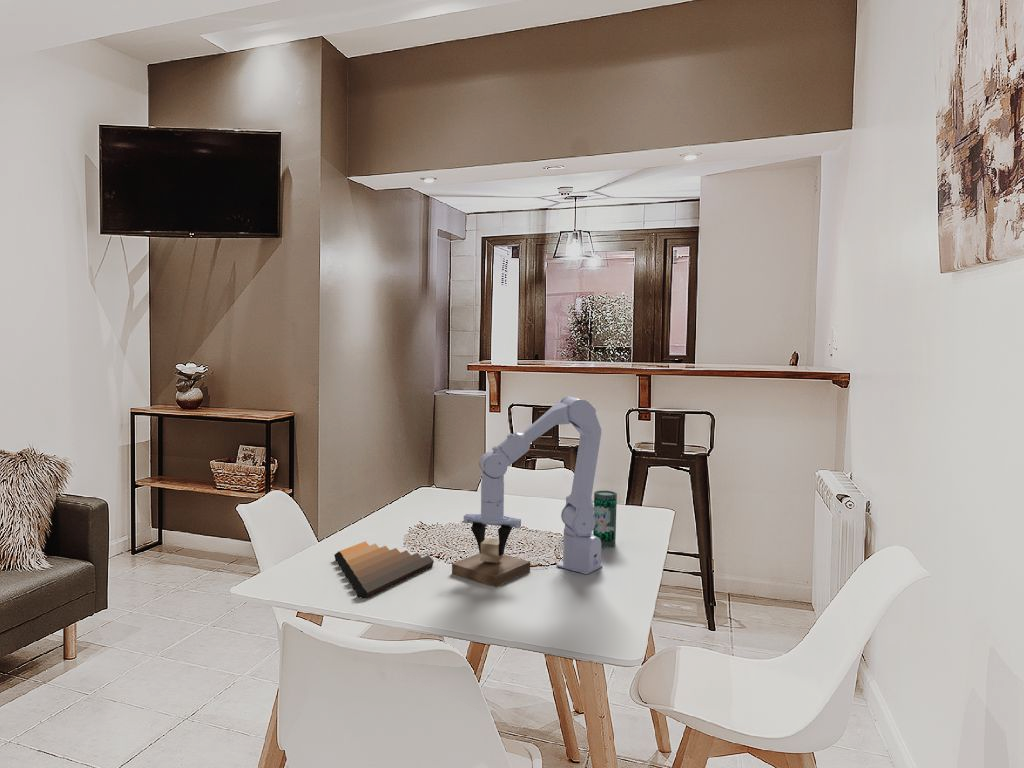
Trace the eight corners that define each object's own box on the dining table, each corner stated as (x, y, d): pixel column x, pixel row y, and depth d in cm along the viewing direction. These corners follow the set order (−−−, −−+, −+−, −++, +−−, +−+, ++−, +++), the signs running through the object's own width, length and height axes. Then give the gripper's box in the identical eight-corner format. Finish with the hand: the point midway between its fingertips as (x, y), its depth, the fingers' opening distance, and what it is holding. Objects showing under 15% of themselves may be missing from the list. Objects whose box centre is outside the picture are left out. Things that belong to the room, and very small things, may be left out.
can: (590, 545, 191) (591, 493, 190) (597, 539, 197) (599, 489, 196) (610, 548, 188) (612, 496, 187) (617, 543, 194) (619, 492, 193)
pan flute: (367, 601, 150) (433, 569, 171) (367, 586, 149) (434, 556, 171) (289, 580, 162) (360, 552, 184) (289, 566, 162) (360, 540, 183)
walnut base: (530, 571, 169) (530, 561, 169) (495, 587, 158) (495, 576, 158) (487, 559, 178) (488, 550, 178) (451, 573, 167) (452, 563, 167)
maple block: (502, 557, 169) (503, 539, 169) (497, 562, 165) (497, 545, 165) (486, 555, 171) (486, 538, 170) (480, 560, 166) (480, 543, 166)
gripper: (524, 498, 169) (523, 551, 170) (470, 494, 172) (469, 545, 173) (517, 505, 162) (516, 560, 163) (460, 500, 166) (460, 554, 167)
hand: (491, 553), depth 168 cm, fingers closed on maple block, 4 cm apart
